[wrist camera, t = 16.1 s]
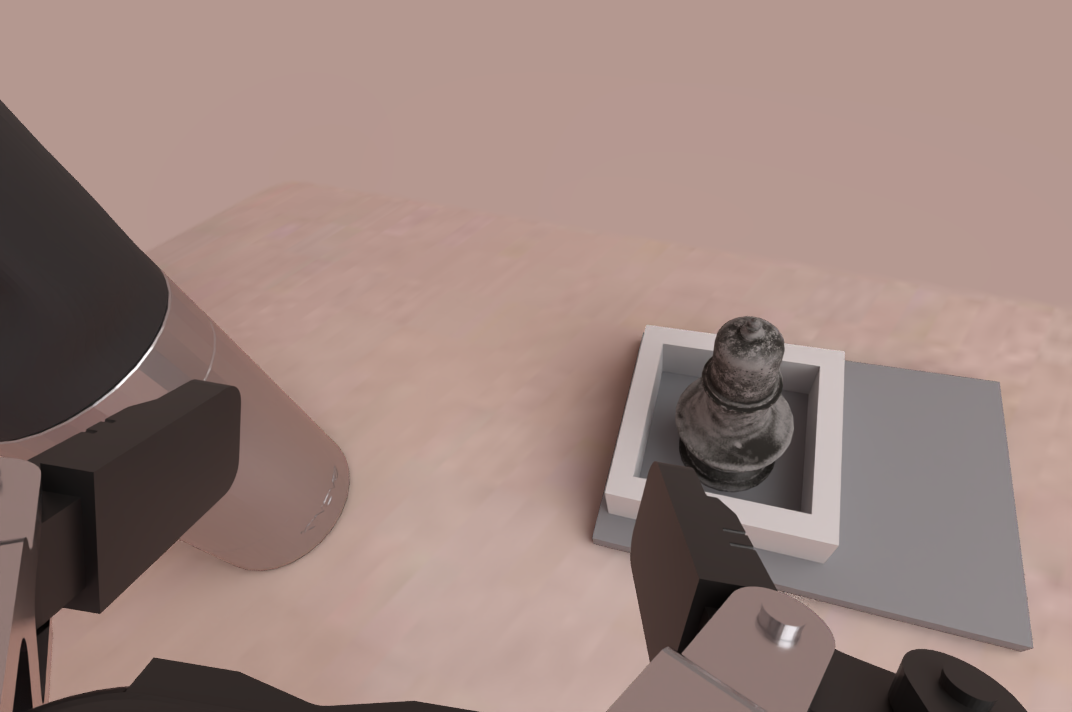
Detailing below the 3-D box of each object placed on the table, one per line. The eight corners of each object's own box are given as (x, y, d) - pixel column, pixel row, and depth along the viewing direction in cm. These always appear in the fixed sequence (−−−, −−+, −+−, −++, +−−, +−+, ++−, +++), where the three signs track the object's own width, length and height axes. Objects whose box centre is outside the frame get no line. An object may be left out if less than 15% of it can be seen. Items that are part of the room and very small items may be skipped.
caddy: (594, 543, 33) (587, 519, 29) (643, 341, 40) (642, 303, 37) (1021, 651, 27) (1072, 636, 24) (991, 391, 34) (1026, 351, 31)
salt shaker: (699, 388, 36) (714, 248, 26) (797, 428, 33) (855, 291, 24) (655, 467, 34) (655, 346, 24) (758, 517, 31) (804, 404, 21)
